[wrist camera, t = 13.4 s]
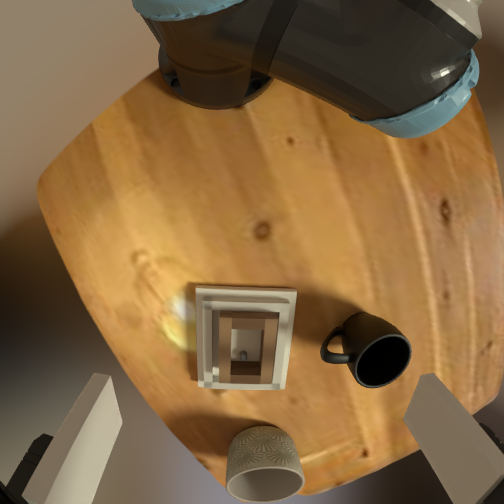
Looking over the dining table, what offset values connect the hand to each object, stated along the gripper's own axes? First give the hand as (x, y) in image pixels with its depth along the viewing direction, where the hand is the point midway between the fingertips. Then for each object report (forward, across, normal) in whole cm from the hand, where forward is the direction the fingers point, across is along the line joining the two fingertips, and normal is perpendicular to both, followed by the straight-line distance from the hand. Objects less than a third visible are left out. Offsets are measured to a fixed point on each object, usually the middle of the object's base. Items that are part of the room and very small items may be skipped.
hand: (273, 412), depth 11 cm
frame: (+28, 0, -12) cm, 30 cm away
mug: (+29, +15, -11) cm, 34 cm away
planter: (+29, +4, -35) cm, 46 cm away
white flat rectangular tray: (+29, 0, -13) cm, 32 cm away
